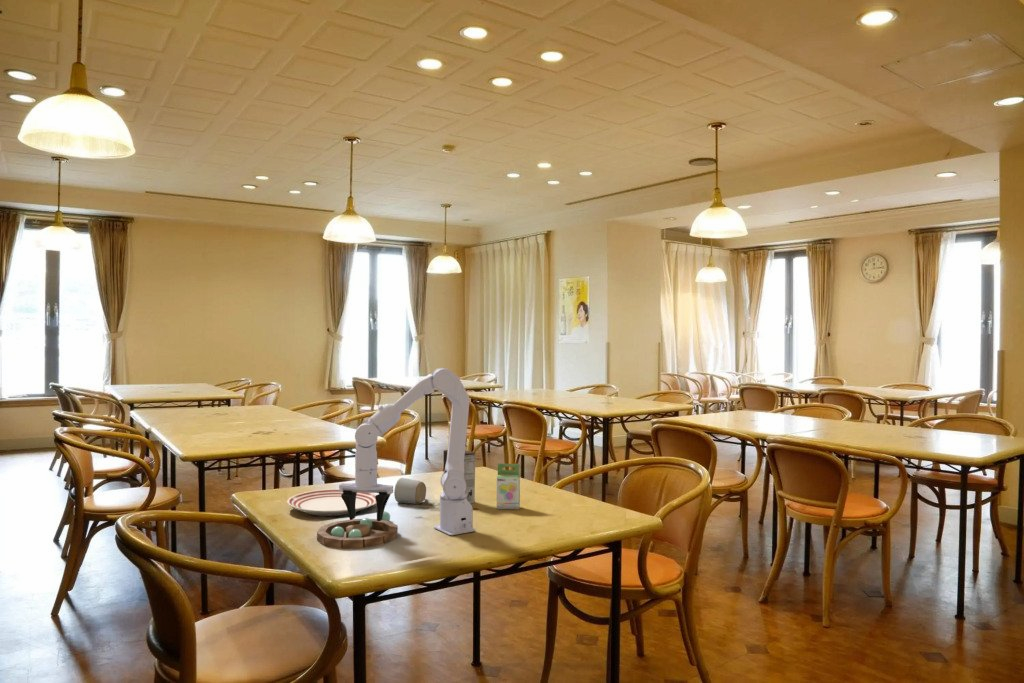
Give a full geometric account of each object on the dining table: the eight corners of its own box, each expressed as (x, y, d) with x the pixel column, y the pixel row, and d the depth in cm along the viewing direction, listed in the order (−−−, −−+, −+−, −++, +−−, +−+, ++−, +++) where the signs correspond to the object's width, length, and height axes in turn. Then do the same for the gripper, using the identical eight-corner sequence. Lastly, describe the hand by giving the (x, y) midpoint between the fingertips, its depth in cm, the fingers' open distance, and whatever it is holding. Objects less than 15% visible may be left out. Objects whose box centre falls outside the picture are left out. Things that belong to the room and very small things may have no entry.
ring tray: (410, 541, 181) (410, 530, 181) (335, 555, 169) (335, 543, 169) (377, 524, 197) (377, 513, 197) (307, 535, 186) (307, 524, 186)
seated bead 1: (346, 540, 180) (346, 527, 180) (333, 542, 178) (333, 529, 178) (341, 537, 183) (341, 524, 183) (328, 539, 181) (328, 526, 181)
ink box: (496, 509, 215) (496, 465, 215) (497, 506, 219) (497, 463, 219) (519, 510, 215) (519, 466, 215) (519, 506, 219) (519, 463, 218)
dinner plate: (397, 503, 223) (397, 493, 223) (341, 524, 198) (341, 512, 198) (327, 495, 234) (327, 485, 234) (267, 513, 209) (267, 502, 209)
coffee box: (442, 500, 227) (442, 450, 226) (458, 497, 231) (458, 448, 231) (459, 505, 220) (459, 453, 220) (475, 502, 224) (476, 451, 224)
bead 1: (374, 529, 190) (374, 516, 190) (369, 533, 187) (369, 520, 187) (362, 528, 191) (362, 516, 191) (357, 532, 187) (357, 519, 187)
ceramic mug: (417, 506, 218) (417, 481, 218) (393, 504, 221) (393, 479, 221) (431, 499, 228) (432, 476, 228) (408, 497, 231) (409, 474, 231)
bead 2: (392, 523, 198) (392, 511, 198) (381, 525, 196) (381, 513, 196) (387, 521, 201) (387, 509, 201) (375, 523, 199) (376, 511, 199)
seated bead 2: (364, 543, 177) (364, 529, 177) (351, 545, 176) (351, 531, 175) (358, 540, 180) (358, 526, 180) (346, 542, 178) (346, 528, 178)
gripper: (397, 467, 191) (396, 517, 191) (346, 465, 194) (346, 514, 194) (388, 471, 184) (387, 523, 185) (335, 469, 187) (335, 521, 187)
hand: (366, 519), depth 189 cm, fingers open, 7 cm apart
